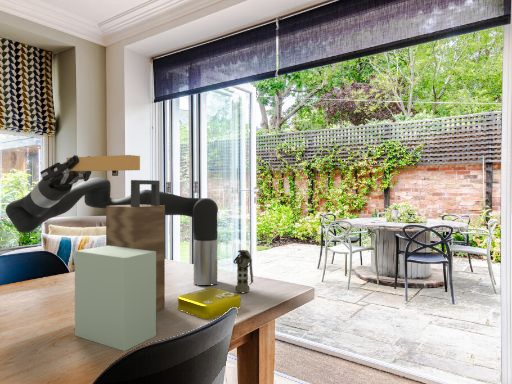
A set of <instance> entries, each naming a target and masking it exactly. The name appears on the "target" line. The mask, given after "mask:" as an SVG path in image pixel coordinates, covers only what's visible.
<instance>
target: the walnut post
mask: <svg viewBox="0 0 512 384" xmlns="http://www.w3.org/2000/svg"><path fill="white" fill-rule="evenodd" d="M165 223H166V215H165V205H160V206H151V205H141V204H140V207H131V205H115V206H106V209H105V246H116V247H124V248H132V249H140V250H148V251H156V312H158V310H159V311H162V310H163V308H164V309H165V307H166V306H165V304H166V302H165V298H166V297H165V296H166V295H165V291H166V289H165V288H166V286H165V285H166V283H165V277H166V276H165V273H166V270H165V267H166V265H165V263H166V260H165V259H166V257H165V256H166V252H165V251H166V248H165V247H166V246H165V245H166V244H165V243H166V241H165V240H166V238H165V237H166V235H165V234H166V224H165Z"/></svg>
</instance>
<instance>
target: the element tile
mask: <svg viewBox="0 0 512 384" xmlns="http://www.w3.org/2000/svg"><path fill="white" fill-rule="evenodd" d="M241 297H242V296H241V294H240V293H235V292H231V291H227V290H223V289H220V288H216V287H212V286H208V287H206V288H202V289H199V290H198V289H197V290H195V291H191V292H187V293H185V294H181V295H180V294H179V295H178V297H177V310H178V309H179V310H178V311H180V310H183V311H185V312H188V313H190V314H189V315H191V314H193V315H192V316H194V315H195V316H194V317H197V316H198V317H197V318H200V317H201V318H200V319H203V318H204V319H203V320H212V319H213V320H214V319H215V318H218V317H221V316H223V314H224V313H225V312H227V311H228V310H229V309H230V308H232V307H237V308H239V307H240V306H241V300H242V299H241ZM183 311H182V312H183ZM185 312H184V313H185ZM188 313H187V314H188ZM224 315H225V314H224Z"/></svg>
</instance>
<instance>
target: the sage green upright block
mask: <svg viewBox="0 0 512 384" xmlns="http://www.w3.org/2000/svg"><path fill="white" fill-rule="evenodd" d="M74 336H76V337H79V338H82V339H84V340H85V339H86V340H88V341H92V342H95V343H98V344H100V345H104V346H107V347H110V348H114V349H116V350H120V351H122V352H126V351H127V350H130V349H133V348H134V347H136V346H138V345H140V344H142V343H145V342H147V341H148V340H151V339H152V338H155V337H157V311H156V251H148V250H140V249H132V248H124V247H116V246H106V245H103V246H102V245H101V246H98V247H96V246H95V247H91V248H85V249H78V250H74Z"/></svg>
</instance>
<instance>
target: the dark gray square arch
mask: <svg viewBox="0 0 512 384" xmlns="http://www.w3.org/2000/svg"><path fill="white" fill-rule="evenodd" d="M141 185H151V186H150V190H151V206H160V192H161V191H160V190H161V189H160V187H161V186H160V185H161V184H160V180H153V179H152V180H151V179H149V180H148V179H147V180H146V179H145V180H143V179H130V195H131V207H140V191H141V190H140V189H141V187H140V186H141Z"/></svg>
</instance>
